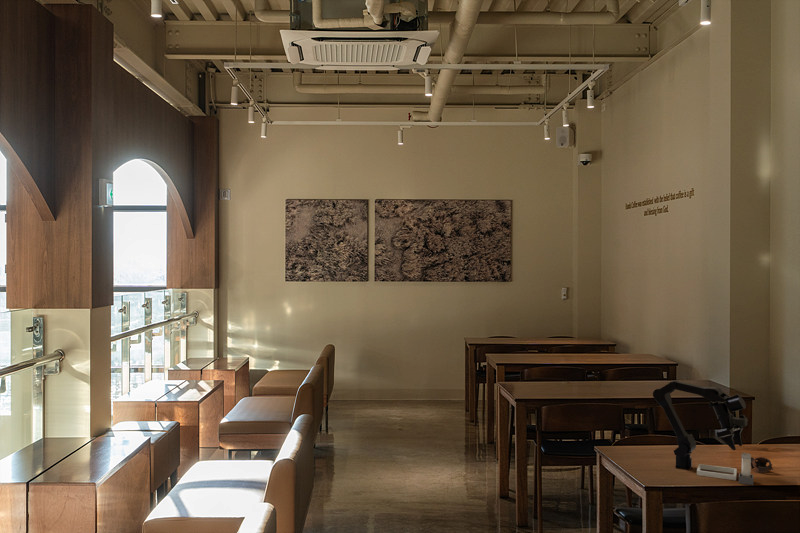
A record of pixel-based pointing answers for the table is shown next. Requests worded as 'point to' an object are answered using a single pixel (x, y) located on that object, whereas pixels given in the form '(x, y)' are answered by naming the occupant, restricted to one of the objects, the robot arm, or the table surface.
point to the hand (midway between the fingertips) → (737, 448)
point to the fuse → (746, 465)
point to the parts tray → (717, 468)
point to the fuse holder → (745, 480)
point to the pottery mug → (761, 464)
